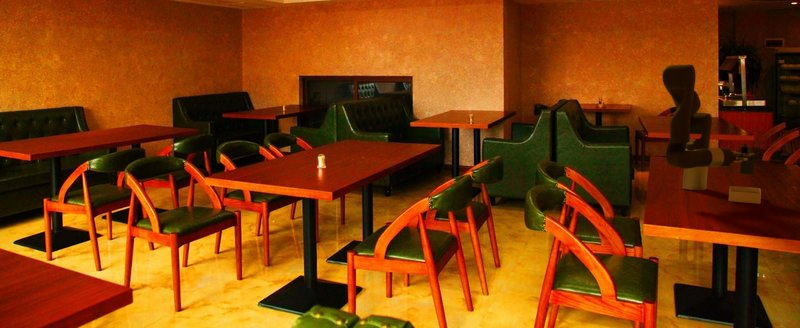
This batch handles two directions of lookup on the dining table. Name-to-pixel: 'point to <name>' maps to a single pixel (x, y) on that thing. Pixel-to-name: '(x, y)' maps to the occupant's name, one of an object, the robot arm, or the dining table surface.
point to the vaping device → (746, 163)
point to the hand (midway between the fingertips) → (753, 156)
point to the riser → (744, 194)
